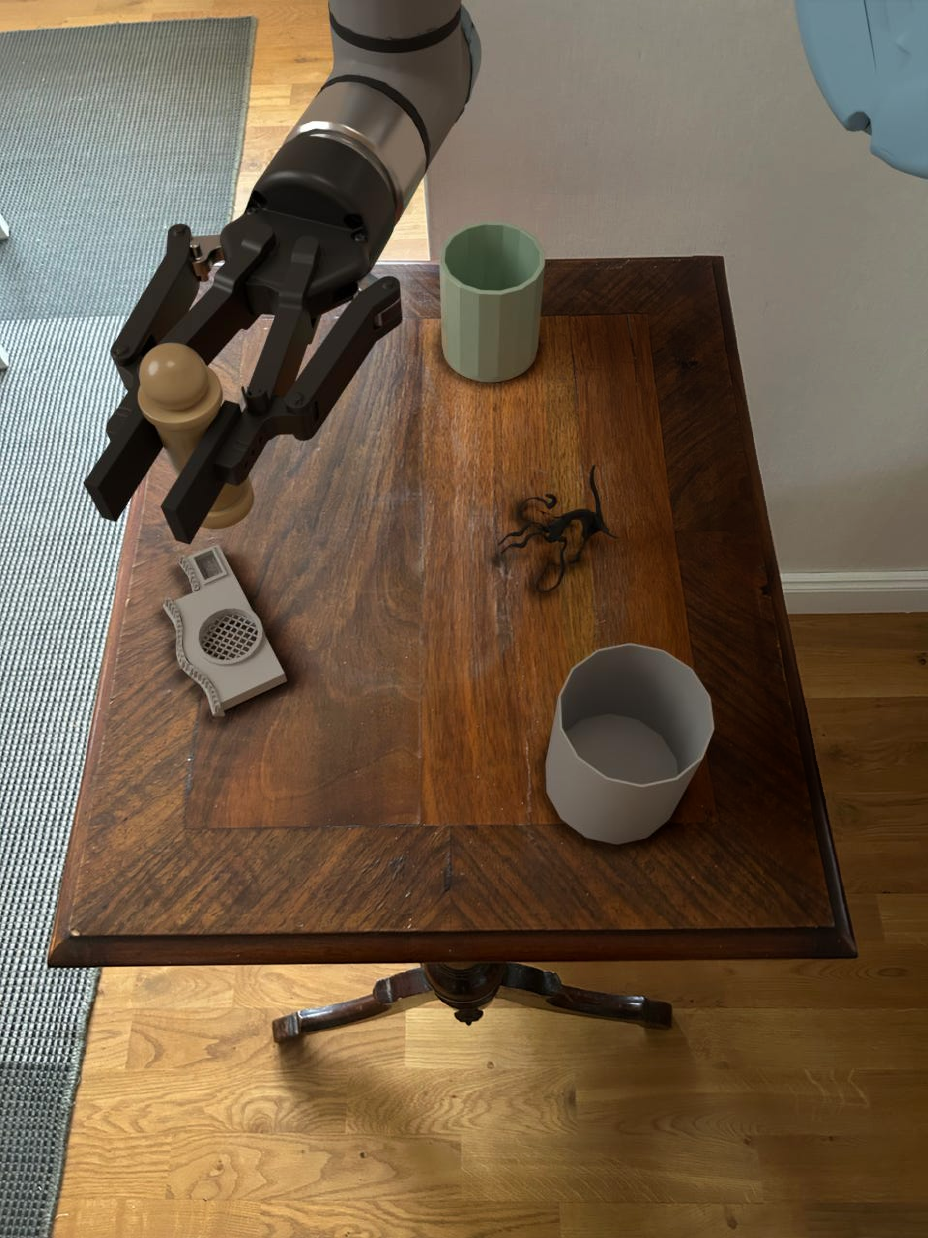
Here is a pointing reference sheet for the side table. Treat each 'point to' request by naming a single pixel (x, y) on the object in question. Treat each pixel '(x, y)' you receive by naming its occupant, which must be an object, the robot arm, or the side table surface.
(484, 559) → the side table surface
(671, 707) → the cup
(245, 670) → the lattice window wall
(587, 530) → the creature
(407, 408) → the side table surface
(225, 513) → the game piece
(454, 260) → the tumbler
